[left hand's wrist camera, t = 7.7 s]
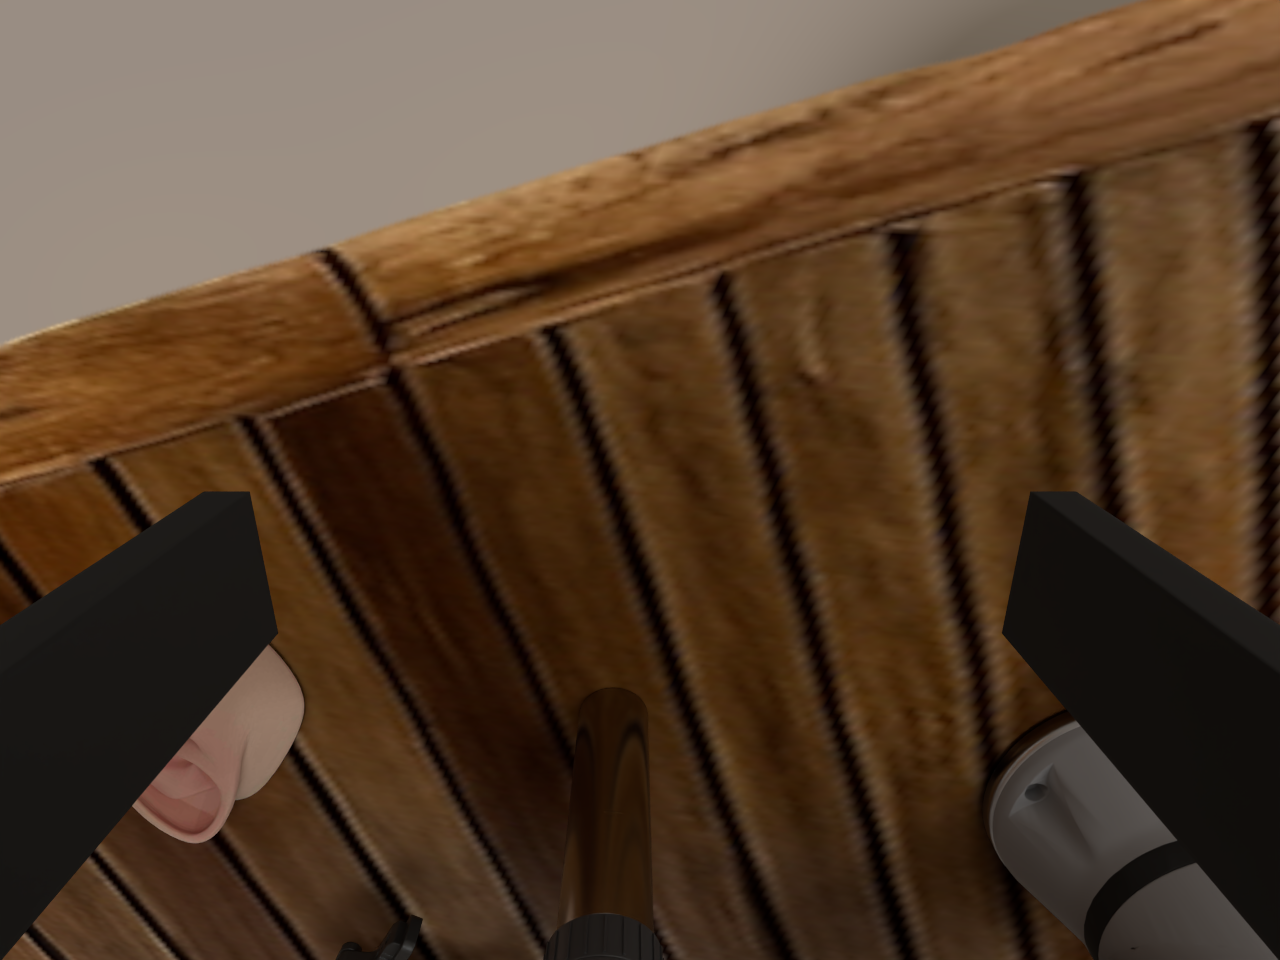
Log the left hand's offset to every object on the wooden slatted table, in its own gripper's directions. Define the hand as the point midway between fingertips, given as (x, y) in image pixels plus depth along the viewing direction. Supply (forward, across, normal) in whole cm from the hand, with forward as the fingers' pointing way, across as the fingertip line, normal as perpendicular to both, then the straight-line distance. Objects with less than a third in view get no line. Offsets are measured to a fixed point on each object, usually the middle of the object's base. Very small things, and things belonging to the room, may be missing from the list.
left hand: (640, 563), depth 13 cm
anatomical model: (+26, +26, +23) cm, 43 cm away
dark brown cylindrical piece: (+26, +2, +24) cm, 36 cm away
